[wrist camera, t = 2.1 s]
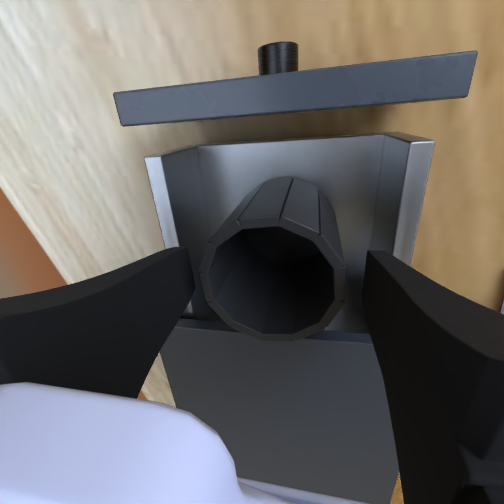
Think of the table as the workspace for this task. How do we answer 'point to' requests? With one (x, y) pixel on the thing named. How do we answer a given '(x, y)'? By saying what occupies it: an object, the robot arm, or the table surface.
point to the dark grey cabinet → (290, 406)
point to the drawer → (299, 156)
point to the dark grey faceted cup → (277, 263)
